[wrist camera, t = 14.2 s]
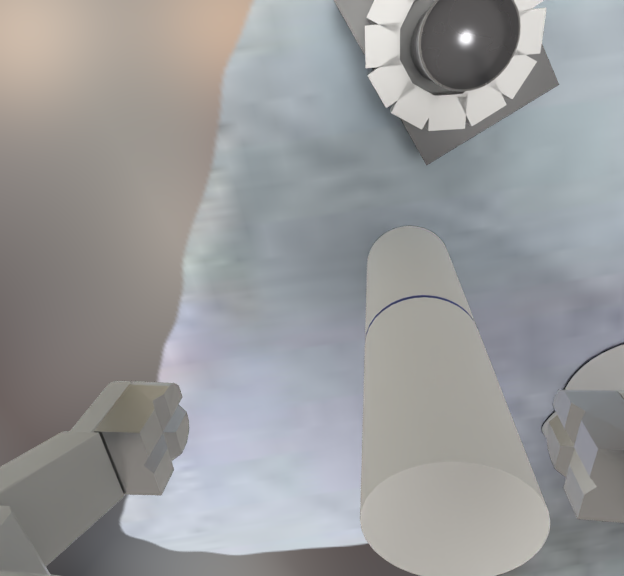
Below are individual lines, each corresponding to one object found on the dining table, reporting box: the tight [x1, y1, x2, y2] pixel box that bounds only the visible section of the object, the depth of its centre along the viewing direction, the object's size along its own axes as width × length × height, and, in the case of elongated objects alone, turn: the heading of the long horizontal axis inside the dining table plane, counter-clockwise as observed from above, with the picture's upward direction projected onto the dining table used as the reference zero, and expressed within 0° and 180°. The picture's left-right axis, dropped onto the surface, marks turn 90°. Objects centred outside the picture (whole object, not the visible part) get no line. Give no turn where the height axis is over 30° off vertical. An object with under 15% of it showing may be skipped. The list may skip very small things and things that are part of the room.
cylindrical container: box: [360, 226, 550, 576], centre depth 28 cm, size 7×7×25 cm
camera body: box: [334, 0, 559, 165], centre depth 28 cm, size 12×10×7 cm
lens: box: [410, 0, 521, 92], centre depth 24 cm, size 5×5×7 cm
